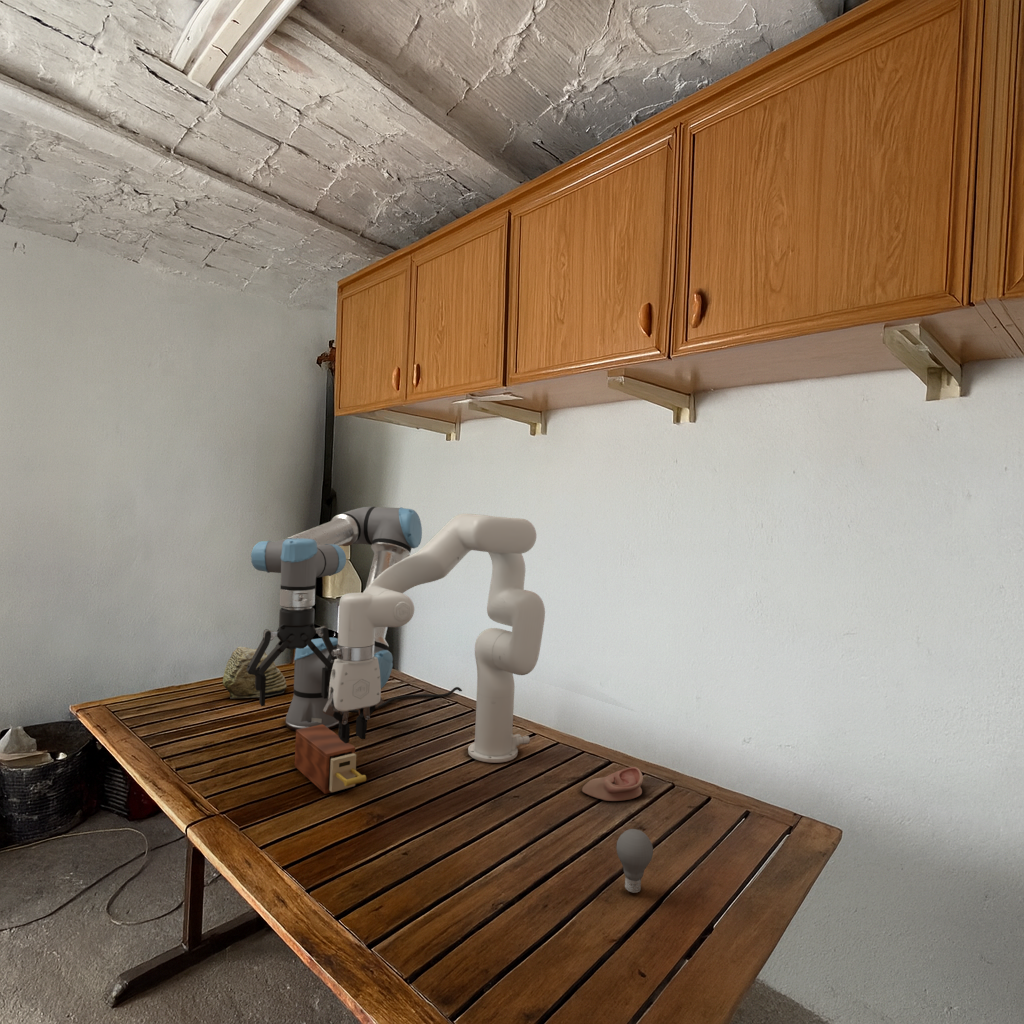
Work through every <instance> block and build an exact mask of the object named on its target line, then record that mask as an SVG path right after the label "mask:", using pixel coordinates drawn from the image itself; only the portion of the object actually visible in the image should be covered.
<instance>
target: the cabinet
mask: <svg viewBox="0 0 1024 1024" xmlns="http://www.w3.org/2000/svg"><path fill="white" fill-rule="evenodd" d="M347 752H348V754H352V753H355V754H356V746H354V745H353V744H351V743H350V742H349V743H344V742H343V741H342V740H340V738H339V736H338V733H336V732H334V730H332V729H329V728H327V727H326V726H324V725H323V724H322V725H317V726H313V727H308V728H303V729H298V730H296V731H295V747H294V768H296V769H297V770H298V771H299V772H300V773H302V775H303V776H304V777H306V778H307V779H308V780H309V781H310V782H311V783H312V784H313V785H314V786H315V787H317V789H319V790H320V791H321V792H322V793H323V794H324V795H326V794H330V793H332V792H331V791H330V790H329V789H330V786H329V762H330V757H331V756H335V755H339V754H343V753H347Z"/></svg>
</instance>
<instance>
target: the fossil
mask: <svg viewBox="0 0 1024 1024" xmlns="http://www.w3.org/2000/svg"><path fill="white" fill-rule="evenodd" d="M256 650H257V648H251V647H247V646H246V647H245V646H238V647H237V648H236V649H235V650H233V651H232V653H231V656H230V657H229V659H228V660H227V663H226V666H225V668H224V671H223V675H222V676H223V677H222V685H223V687H224V688H225V690H226V691H228V693H229V698H230V699H250V698H259V697H260V690H258V691H257V690H256V688H255V675H252V674H248V672H247V670H246V669H247V667H248V665H249V663H250V661H251V659H252V657H253V656H254V654H255V652H256ZM268 655H269V654H267V653H266V652H265V653H264V654H263V656H262V658H261V660H260V662H259V664H258V665H257V667H258V666H259V665H260V664H261V663H262V662H263V661H264V659H265V658H266V657H267V656H268ZM257 667H256V668H257ZM264 674H265V676H266V689H265V697H271V696H275V695H281V694H284V693H285V691H286V689H287V687H288V686H287V680H286V678H285V676H284V674H283V673H282V672H281V669H279V668H278V667H277V665H276V663H275V661H274V662H273V663H272V664H271V665H270V666H269V668H268V669H267V670H266V671H265V672H264Z"/></svg>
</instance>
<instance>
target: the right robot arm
mask: <svg viewBox="0 0 1024 1024" xmlns="http://www.w3.org/2000/svg"><path fill="white" fill-rule="evenodd" d="M536 542H537V530H536V528H535V526H534V524H533V523H532V521H529V520H528V519H526V518H519V517H507V516H495V515H494V516H493V515H486V514H474V513H459V514H456V515H455V516H453V517H452V518H451V519H450V520H448V521H447V523H445V525H444V526H443V527H441V529H439V530H438V531H437V532H436V534H434V535H433V536H432V537H431V539H429V540H428V541H427V542H426V543H425V544H424V545H423V546H422V547H421V548H420V549H419V550H417V551H416V552H414V553H412V554H410V556H408V557H406V558H405V559H403V560H401V561H399V562H397V563H396V564H394V565H392V566H390V567H389V568H387V569H386V570H385V571H383V572H382V573H381V574H380V575H379V576H378V577H377V578H376V579H375V580H374V581H373V582H372V583H370V585H369V586H368V587H367V588H366V587H365V589H364V590H363V592H347V593H345V594H343V595H342V596H340V598H339V605H338V627H337V628H338V629H337V639H338V645H337V649H335V650H332V652H331V654H332V656H336V657H337V659H335V660H334V663H333V667H332V672H331V677H330V685H329V699H328V701H327V703H326V705H325V707H324V709H323V712H324V713H325V714H327V715H329V716H332V717H334V718H335V719H336V720H337V721H339V726H338V733H337V735H338V736H339V738H340V740H342V741H343V742H344V743H350V736H351V735H350V734H351V733H350V732H351V724H350V723H349V713H350V712H349V711H350V710H359V713H358V716H356V719H355V736H356V737H357V738H359V739H361V740H366V734H367V733H368V721H369V720H370V718H371V715H372V714H373V713H374V711H375V710H376V709H375V708H377V707H378V706H379V705H381V704H382V703H384V700H383V698H382V689H381V681H380V669H379V663H378V658H377V657H374V642H375V627H388V628H400V627H403V626H405V625H407V624H408V623H409V622H410V621H411V620H412V619H413V617H414V615H415V605H414V602H413V600H412V599H411V597H409V596H408V595H406V594H405V592H407V591H409V590H410V589H413V588H414V587H417V586H420V585H424V584H429V583H432V582H437V581H439V580H441V579H443V578H445V577H447V576H448V575H449V573H450V572H451V571H452V570H453V569H454V568H455V567H457V565H458V564H459V563H460V562H462V560H463V559H464V558H465V557H466V555H468V554H469V553H470V552H471V551H475V552H483V553H488V555H489V558H490V560H491V566H492V569H491V570H492V571H491V579H490V585H489V591H488V598H487V603H486V604H487V605H486V611H487V612H486V613H487V616H488V618H489V619H490V620H492V621H493V622H495V623H497V624H501V625H505V626H508V627H511V628H512V629H511V631H510V630H506V629H503V628H497V627H490V628H486V629H484V630H482V631H481V632H480V633H479V635H478V636H477V638H476V640H475V642H474V658H475V664H476V698H475V699H476V700H475V702H476V703H475V725H474V742H472V743H470V745H469V746H468V747H467V748H468V749H467V753H468V755H469V756H470V757H471V758H472V759H474V760H476V761H479V762H483V763H488V764H489V763H490V764H501V763H507V762H509V761H512V760H514V759H516V758H517V756H518V754H519V753H518V752H519V749H518V747H519V746H520V745H528V744H530V743H531V738H530V736H529V735H523V736H522V734H520V733H517V734H514V733H513V732H514V731H513V728H514V707H515V690H516V689H515V677H514V675H517V676H525V675H528V674H530V673H531V672H532V671H533V670H534V669H535V668H536V666H537V664H538V661H539V657H540V652H541V647H542V639H543V634H544V626H545V619H546V608H545V607H546V606H545V604H544V601H543V599H542V598H541V596H540V595H539V594H538V593H536V592H534V591H532V590H527V589H525V580H526V579H525V578H526V561H525V559H524V556H523V554H526V553H527V552H529V551H531V550H532V548H533V547H534V546H535V544H536ZM334 706H335V708H336V709H337V710H338V711H336V710H333V707H334ZM377 709H378V708H377Z"/></svg>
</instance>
